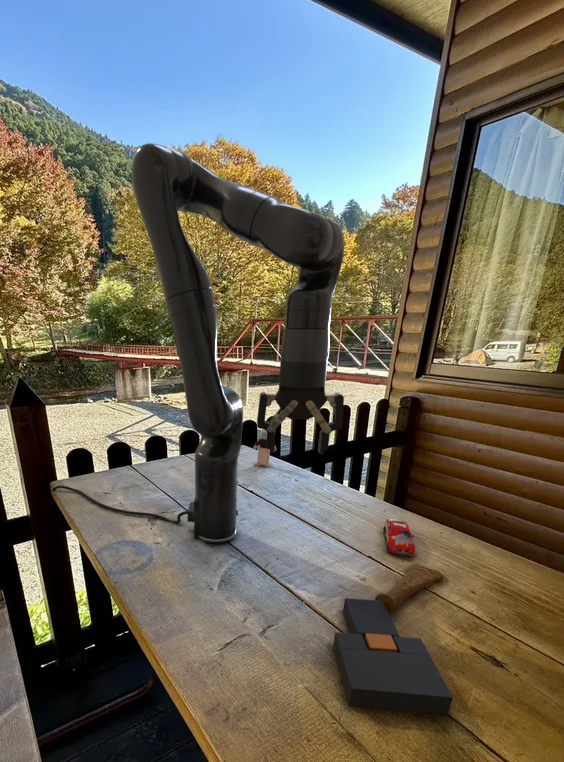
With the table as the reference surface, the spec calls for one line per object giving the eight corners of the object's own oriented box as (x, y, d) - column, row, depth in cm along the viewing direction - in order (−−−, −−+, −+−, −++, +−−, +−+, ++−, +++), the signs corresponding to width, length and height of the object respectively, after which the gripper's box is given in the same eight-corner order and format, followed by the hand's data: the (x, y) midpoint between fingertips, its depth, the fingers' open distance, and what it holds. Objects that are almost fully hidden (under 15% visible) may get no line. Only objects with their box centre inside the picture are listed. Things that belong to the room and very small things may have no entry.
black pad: (348, 706, 52) (351, 688, 51) (332, 647, 62) (335, 631, 61) (448, 715, 51) (453, 697, 50) (416, 654, 60) (420, 638, 59)
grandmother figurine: (252, 466, 137) (253, 429, 133) (252, 462, 141) (254, 426, 136) (275, 467, 136) (278, 430, 131) (275, 463, 139) (277, 427, 135)
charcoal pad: (359, 662, 59) (361, 646, 58) (342, 612, 69) (344, 598, 68) (402, 666, 58) (406, 650, 57) (379, 615, 68) (382, 600, 67)
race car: (415, 561, 83) (419, 544, 82) (386, 556, 85) (389, 539, 83) (407, 531, 95) (410, 515, 93) (382, 527, 96) (384, 512, 95)
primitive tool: (414, 565, 82) (418, 549, 80) (444, 576, 78) (448, 561, 77) (370, 609, 70) (373, 592, 68) (403, 625, 66) (407, 608, 65)
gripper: (343, 355, 70) (333, 447, 76) (259, 355, 71) (255, 445, 77) (354, 359, 63) (341, 460, 69) (260, 359, 64) (256, 457, 70)
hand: (296, 452), depth 73 cm, fingers open, 8 cm apart
